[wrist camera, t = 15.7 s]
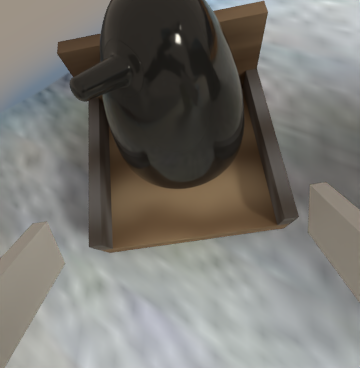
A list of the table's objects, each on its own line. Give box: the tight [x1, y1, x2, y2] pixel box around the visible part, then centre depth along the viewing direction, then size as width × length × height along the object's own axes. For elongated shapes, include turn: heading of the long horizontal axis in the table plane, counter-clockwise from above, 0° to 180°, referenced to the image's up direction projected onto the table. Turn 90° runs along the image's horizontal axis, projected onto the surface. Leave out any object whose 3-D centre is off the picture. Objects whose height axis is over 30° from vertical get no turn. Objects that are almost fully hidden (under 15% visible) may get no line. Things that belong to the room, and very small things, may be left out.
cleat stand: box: [57, 1, 299, 253], centre depth 22 cm, size 15×16×10 cm
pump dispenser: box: [70, 0, 245, 189], centre depth 18 cm, size 10×10×15 cm
